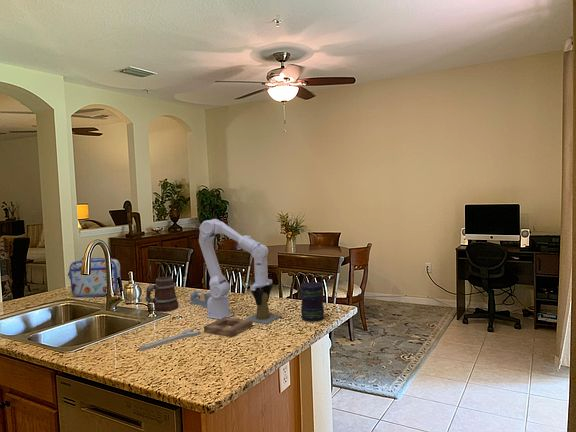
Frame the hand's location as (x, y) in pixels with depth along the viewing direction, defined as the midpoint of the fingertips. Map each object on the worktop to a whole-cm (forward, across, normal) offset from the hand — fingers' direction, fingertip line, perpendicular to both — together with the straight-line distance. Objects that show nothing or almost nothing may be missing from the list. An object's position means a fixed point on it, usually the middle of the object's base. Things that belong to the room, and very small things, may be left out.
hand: (262, 303), depth 188 cm
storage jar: (+7, +9, -20) cm, 23 cm away
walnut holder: (+7, -18, +5) cm, 20 cm away
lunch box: (+7, -1, +112) cm, 112 cm away
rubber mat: (+7, 0, 0) cm, 7 cm away
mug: (+7, -7, +54) cm, 55 cm away
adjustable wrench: (+7, -38, +18) cm, 42 cm away
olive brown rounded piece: (+6, 0, 0) cm, 6 cm away
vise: (+7, +10, +43) cm, 44 cm away
